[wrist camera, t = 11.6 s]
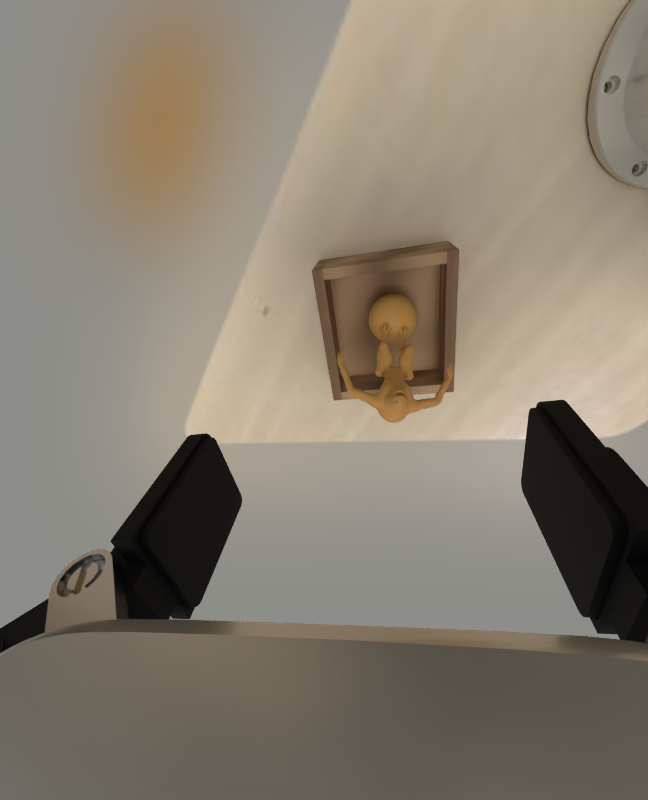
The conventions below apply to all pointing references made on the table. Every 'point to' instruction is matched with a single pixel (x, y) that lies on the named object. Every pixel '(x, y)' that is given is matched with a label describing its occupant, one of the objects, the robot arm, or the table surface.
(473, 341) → the table surface
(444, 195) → the table surface
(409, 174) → the table surface
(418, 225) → the table surface
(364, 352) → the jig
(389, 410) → the figurine
